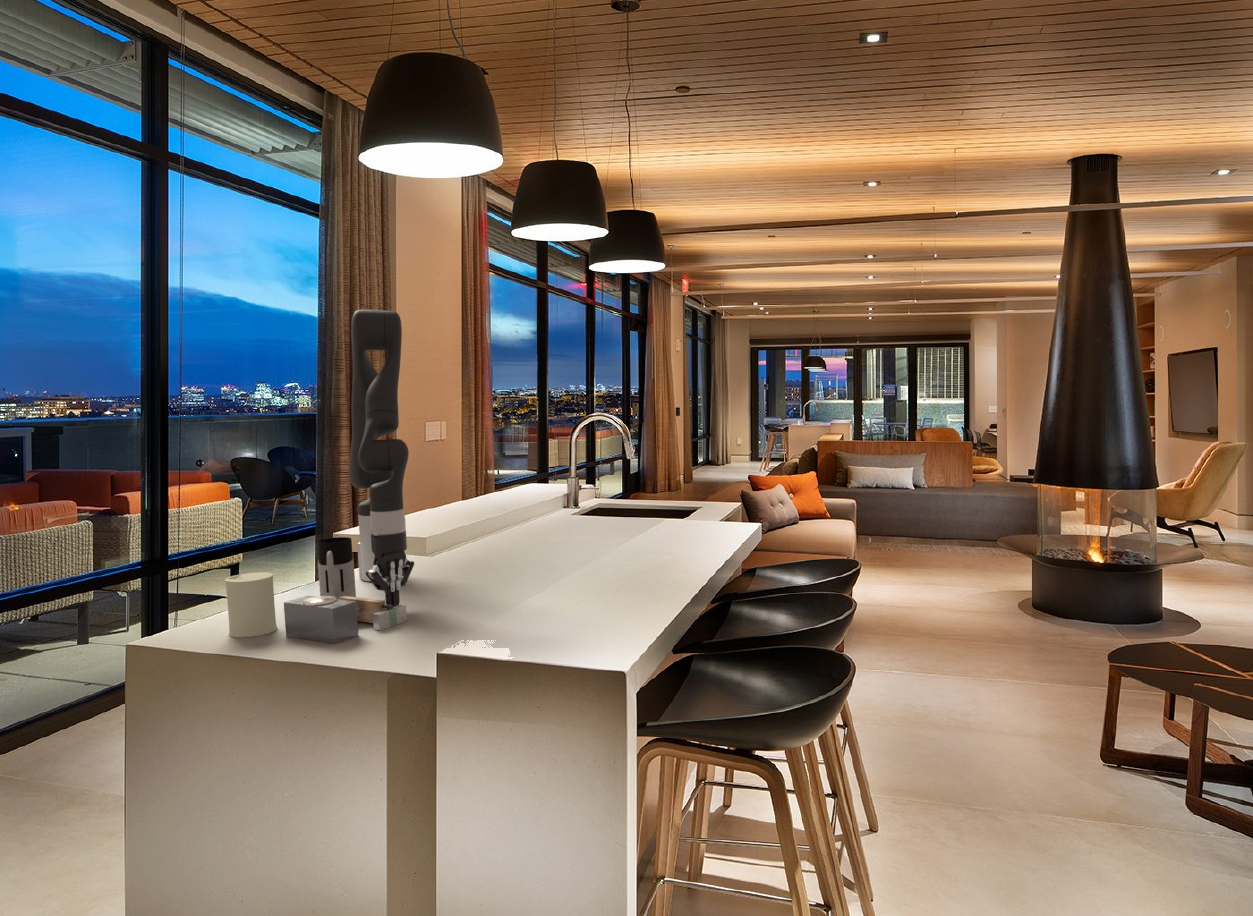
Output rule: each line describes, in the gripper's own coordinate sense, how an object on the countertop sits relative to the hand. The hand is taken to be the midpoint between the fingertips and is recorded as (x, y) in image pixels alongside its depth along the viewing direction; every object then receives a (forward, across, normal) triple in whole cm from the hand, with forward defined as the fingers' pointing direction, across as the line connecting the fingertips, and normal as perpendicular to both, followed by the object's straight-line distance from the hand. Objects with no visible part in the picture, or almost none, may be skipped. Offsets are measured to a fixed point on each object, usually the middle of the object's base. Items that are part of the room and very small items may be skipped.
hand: (393, 607), depth 190 cm
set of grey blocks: (+1, +14, +1) cm, 14 cm away
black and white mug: (+1, +1, -16) cm, 16 cm away
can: (+1, +23, -17) cm, 29 cm away
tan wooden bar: (+1, +11, +1) cm, 11 cm away
